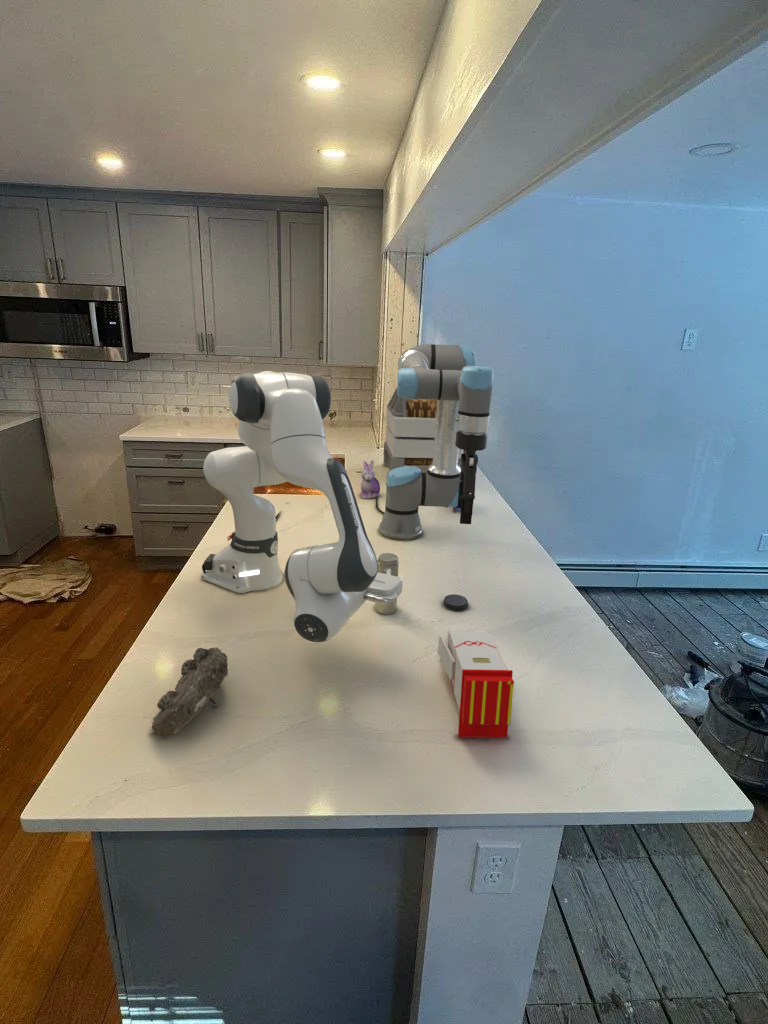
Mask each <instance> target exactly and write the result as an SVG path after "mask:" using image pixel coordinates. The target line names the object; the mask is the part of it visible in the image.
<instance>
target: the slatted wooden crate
mask: <svg viewBox="0 0 768 1024" xmlns="http://www.w3.org/2000/svg"><path fill="white" fill-rule="evenodd" d="M436 413H437V400H433V399H408V398H400V397H398V395H397V387H396V388H395V390H394V392H393V394H392V395H391V398H390V400H389V402H388V404H387V405H386V413H385V414H386V415H385V423H386V428H385V438H384V442H383V466H384V467H388V468H389V472H390V471H391V470H392V469H395V468H398V467H405V466H413V467H428V466H430V465H431V464H432V463H433V451H434V438H435V425H436ZM461 454H463V450H462V449H459V456H458V466H459V467H460V468H461Z"/></svg>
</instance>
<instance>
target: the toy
mask: <svg viewBox="0 0 768 1024" xmlns="http://www.w3.org/2000/svg"><path fill="white" fill-rule="evenodd" d="M446 640H447V643H446V641H445V639H444V636H443V635H442V634H439V637H438V646H437V656H438V657H439V659H440V661H441V663H442V666H443V668H444V670H445V672H446V674H447V677H448V679H449V681H450V684H451V687H452V690H453V693H454V697H455V701H456V705H457V708H458V711H459V714H458V715H459V716H458V730H457V731H458V732H457V737H458V738H508V731H509V726H510V725H511V717H512V707H513V697H514V696H513V695H514V684H515V680H514V679H513V673H514V671H513V670H512V669H508V667H507V665H506V662H505V661H504V659H503V658H502V655H501V653H500V651H499V649H498V647H497V643H496V639H495V637H494V635H493V634H491V632H490V631H489V629H467V628H466V629H465V628H463V629H461V628H460V629H459V628H448V630H447V639H446Z"/></svg>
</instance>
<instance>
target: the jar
mask: <svg viewBox="0 0 768 1024" xmlns="http://www.w3.org/2000/svg"><path fill="white" fill-rule="evenodd" d="M377 563H378V573H382V574H383V570H384V569H385V568H388V569H391V575H392V576H396V577H399V567H400V562H399V557H398V555H397V554H395V553H391V552H383V553H381V554H379V555H378V557H377ZM397 600H398V597H397V598H396V599H395V600H394V601H393V602H390V603H388V604H382V603H377V602H374V603H375V604H374V609H375V611H376V612H377V613H379V614H383V615H390V614H394V613H395V612H396V611H397Z"/></svg>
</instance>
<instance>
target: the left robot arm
mask: <svg viewBox="0 0 768 1024" xmlns="http://www.w3.org/2000/svg"><path fill="white" fill-rule="evenodd" d="M230 384H231V385H230V388H229V392H228V403H229V406H230V408H231V411H232V414H233V416H234V417H235V418H236V419H237V420H239V421H238V426H237V433H238V437H239V439H240V441H241V442H242V443H243V444H244V446H233V447H231V446H230V447H223V448H220V449H216V450H214V451H211V452H208V454H207V456H206V457H205V459H204V462H203V467H202V471H203V476H204V478H205V480H206V482H207V483H208V484H209V485H210V486H211V487H212V488H213V489H215V490H217V491H218V492H220V493H221V494H222V495H223V496H224V497H225V498H226V499H227V500H228V502H229V504H230V506H231V509H232V514H233V521H234V531H233V532H232V533H231V534H230V535H228V536H226V538H227V540H226V541H227V542H228V541H230V543H229V544H228V545H227V546H225V547H223V548H222V549H221V550H220V551H219V552H217V553H209V555H208V556H207V557H206V558H205V559H204V561H203V563H202V565H201V570H202V573H203V578H202V579H203V580H204V581H206V582H209V583H211V584H214V585H216V586H219V587H222V588H224V589H226V590H230V591H232V592H234V593H237V594H244V593H245V594H246V593H249V592H253V591H254V592H255V591H264V590H268V589H271V588H274V587H276V586H278V585H279V584H281V582H282V581H283V579H284V581H285V585H286V587H287V590H288V591H289V593H290V595H291V596H292V598H293V600H294V603H295V611H294V616H293V626H294V629H295V631H296V632H297V634H298V635H299V636H300V637H301V638H302V639H304V640H306V641H308V642H310V643H325V642H327V641H329V640H331V639H332V638H334V637H335V636H336V635H337V634H338V633H339V632H341V631H342V629H343V628H344V627H345V626H346V625H347V624H348V622H349V621H350V618H351V617H353V616H354V615H355V614H356V613H357V612H358V611H359V609H360V608H361V607H363V604H364V603H365V602H366V601H369V602H372V603H375V602H377V603H382V604H388V603H390V602H393V601H394V600H395V599H396V598H397V599H398V597H400V595H401V594H402V592H403V579H402V578H401V577H400V576H398V577H396V576H392V575H391V569H388V568H385V569H384V570H383V574H382V573H378V563H377V560H378V557H377V556H376V555H377V554H376V552H375V550H374V548H373V545H372V544H371V541H370V539H369V537H368V534H367V531H366V527H365V525H364V521H363V518H362V515H361V512H360V508H359V505H358V502H357V498H356V495H355V492H354V488H353V486H352V482H351V480H350V477H349V474H348V472H347V470H346V468H345V466H344V465H343V463H342V461H340V460H338V459H334V457H333V456H332V454H331V452H330V450H329V448H328V444H327V440H326V431H325V426H324V421H323V420H324V419H326V417H327V415H328V414H329V412H330V410H331V406H332V405H331V403H332V395H331V394H332V393H331V388H330V385H329V383H328V382H327V381H326V379H325V378H324V377H322V376H320V375H315V374H312V373H308V374H304V373H297V372H288V371H280V372H276V371H272V370H263V371H259V372H257V373H253V372H246V373H240V374H237V375H236V376H235V377H234V378H233V379H232V381H231V383H230ZM285 483H290V484H292V485H294V486H298V487H302V488H308V489H313V490H316V491H319V492H320V493H322V494H323V495H324V496H325V497H326V498H327V500H328V502H329V505H330V509H331V512H332V515H333V519H334V522H335V526H336V529H337V532H338V536H339V539H338V541H336V542H331V543H325V544H321V545H320V544H319V545H311V546H306V547H301V548H297V549H295V550H294V551H292V552H291V554H290V555H289V556H288V559H287V560H286V563H285V567H284V573H283V574H282V570H281V567H280V561H279V556H278V551H279V537H278V531H277V522H276V521H277V519H276V516H277V514H276V508H275V505H274V504H273V503H272V502H271V501H270V500H268V499H267V498H265V497H262V496H258V495H256V494H255V491H254V490H255V488H257V487H268V486H275V485H281V484H285ZM283 575H284V576H283Z"/></svg>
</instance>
